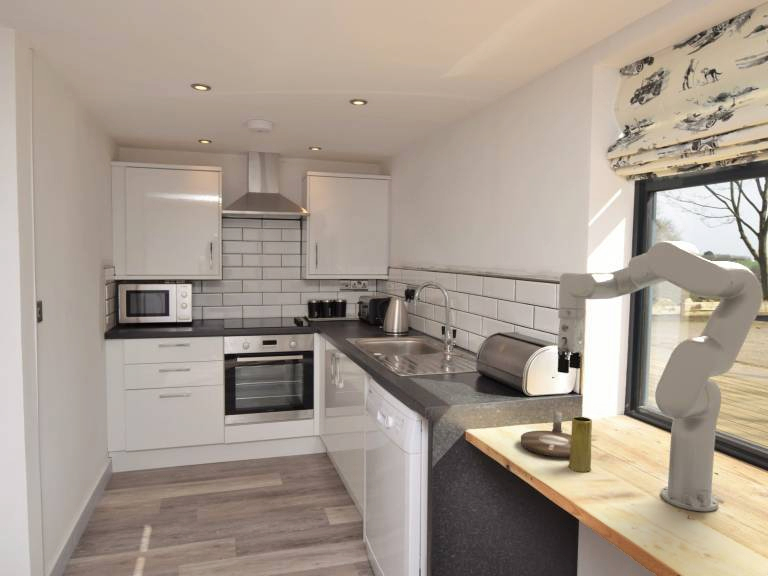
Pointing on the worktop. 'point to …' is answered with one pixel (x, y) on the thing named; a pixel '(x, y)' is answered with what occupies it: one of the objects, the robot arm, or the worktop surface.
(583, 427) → the vase
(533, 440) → the turntable
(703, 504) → the robot arm
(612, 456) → the worktop surface
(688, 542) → the worktop surface
